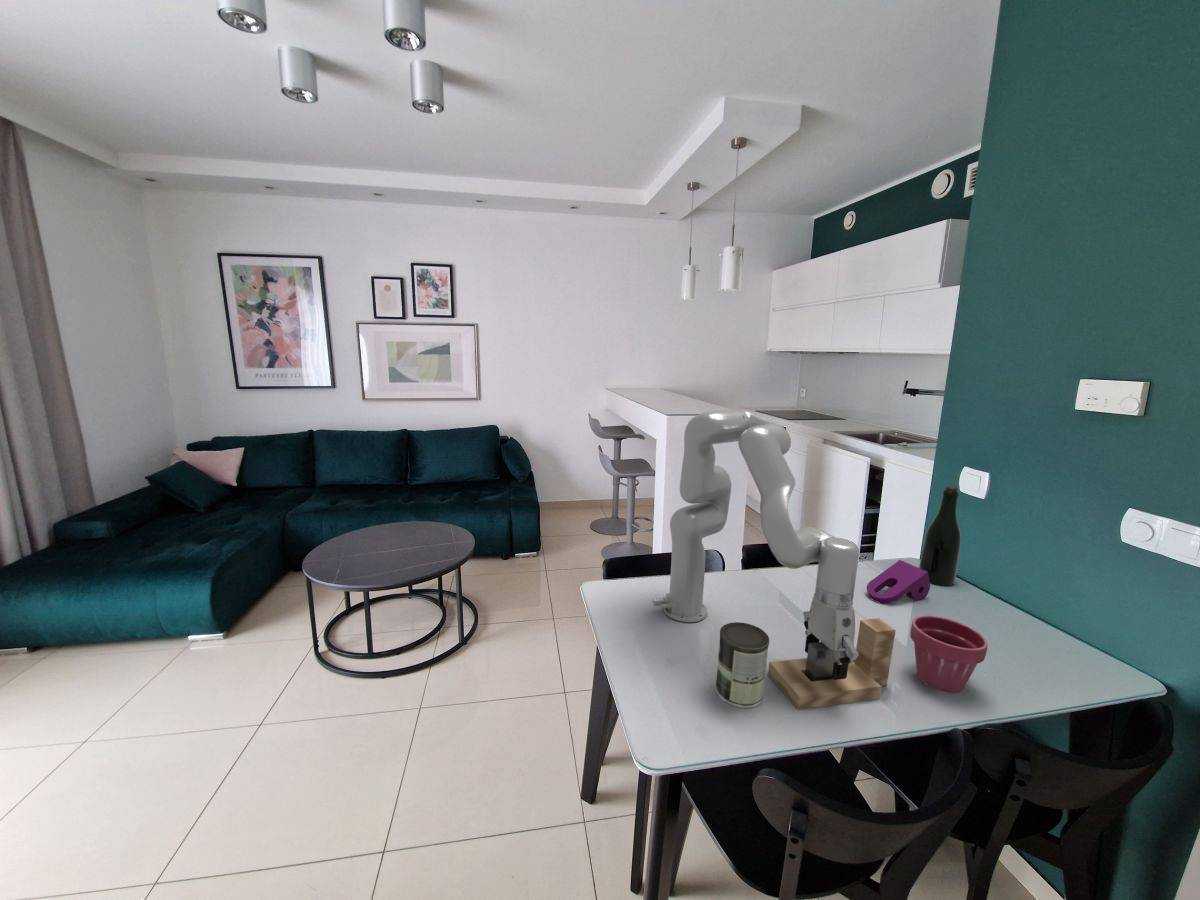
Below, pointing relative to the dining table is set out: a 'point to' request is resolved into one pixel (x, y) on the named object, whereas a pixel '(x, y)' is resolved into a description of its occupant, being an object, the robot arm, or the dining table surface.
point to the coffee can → (741, 664)
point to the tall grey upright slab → (820, 662)
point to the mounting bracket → (900, 583)
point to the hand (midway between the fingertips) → (824, 664)
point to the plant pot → (946, 652)
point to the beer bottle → (943, 542)
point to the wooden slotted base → (860, 676)
